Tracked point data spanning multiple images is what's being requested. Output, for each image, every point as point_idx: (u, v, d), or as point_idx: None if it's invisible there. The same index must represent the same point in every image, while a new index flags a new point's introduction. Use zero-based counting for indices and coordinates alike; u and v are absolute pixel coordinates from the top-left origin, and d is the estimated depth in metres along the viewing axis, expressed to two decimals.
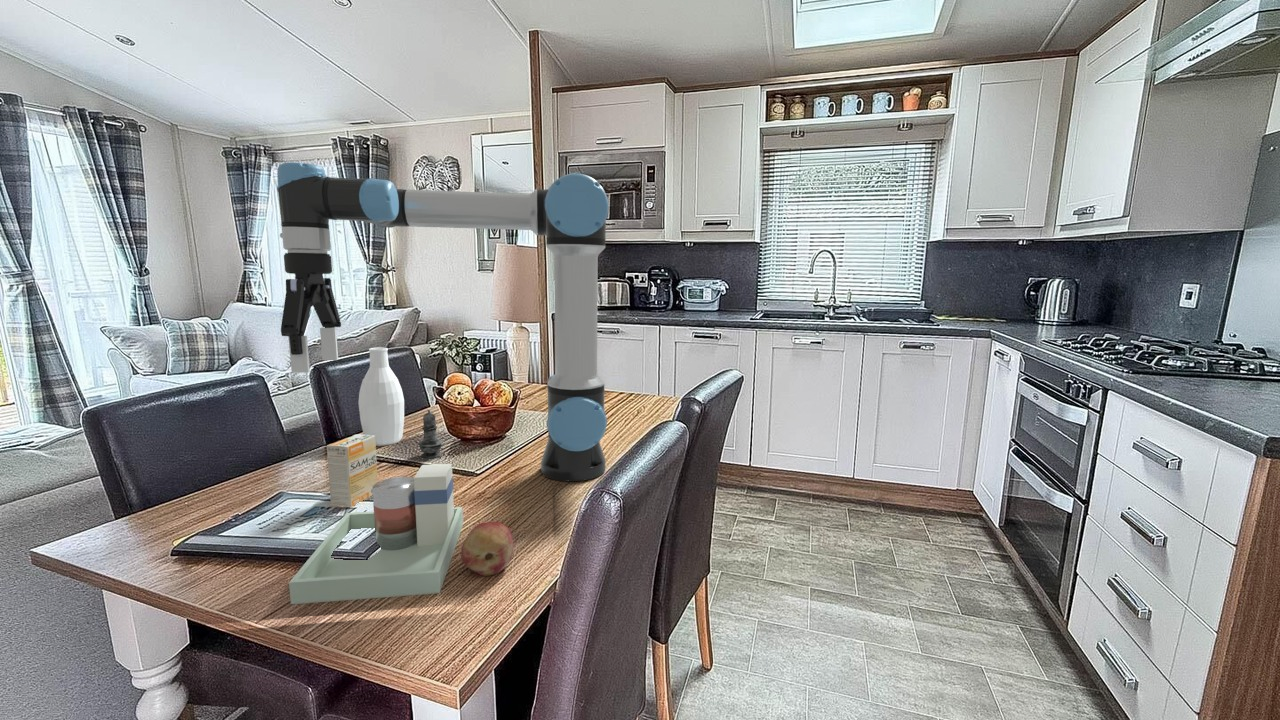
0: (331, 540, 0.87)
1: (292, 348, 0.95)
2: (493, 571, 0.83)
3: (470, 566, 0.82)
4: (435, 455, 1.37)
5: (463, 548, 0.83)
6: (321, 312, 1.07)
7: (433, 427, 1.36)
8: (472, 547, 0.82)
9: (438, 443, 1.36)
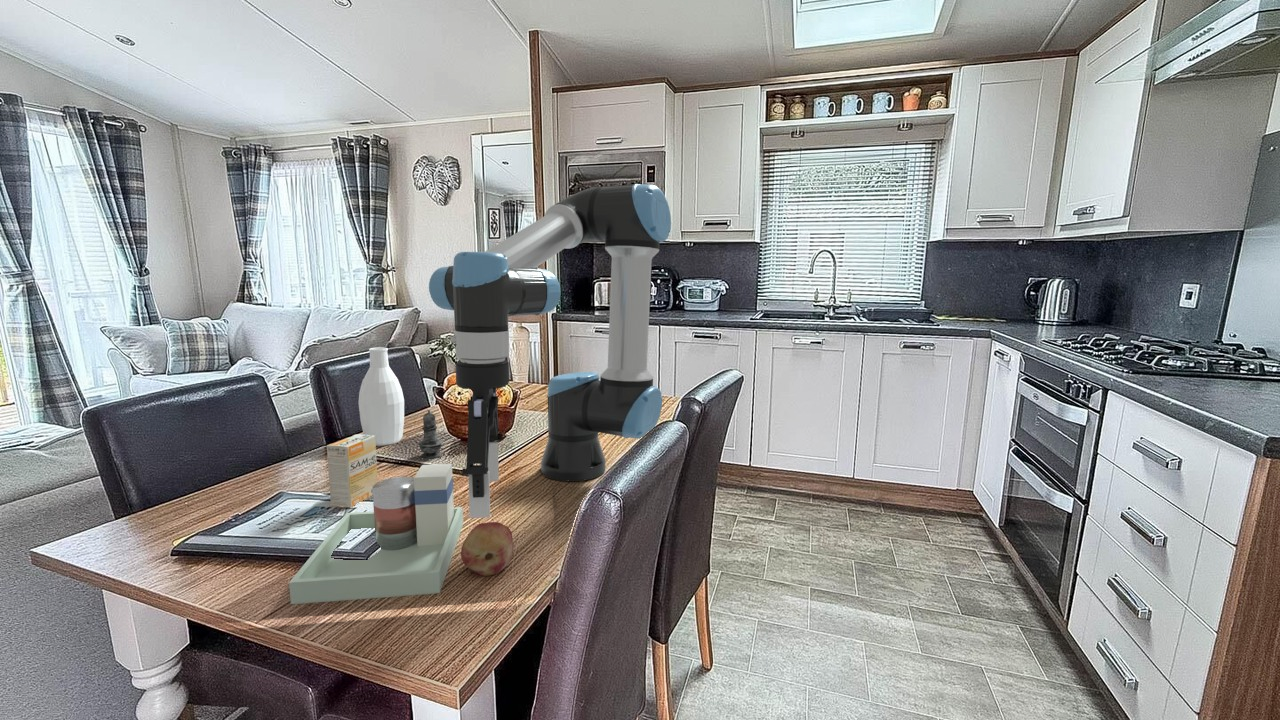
0: (331, 540, 0.87)
1: (475, 490, 0.74)
2: (493, 571, 0.83)
3: (470, 566, 0.82)
4: (435, 455, 1.37)
5: (463, 548, 0.83)
6: None
7: (433, 427, 1.36)
8: (472, 547, 0.82)
9: (438, 443, 1.36)
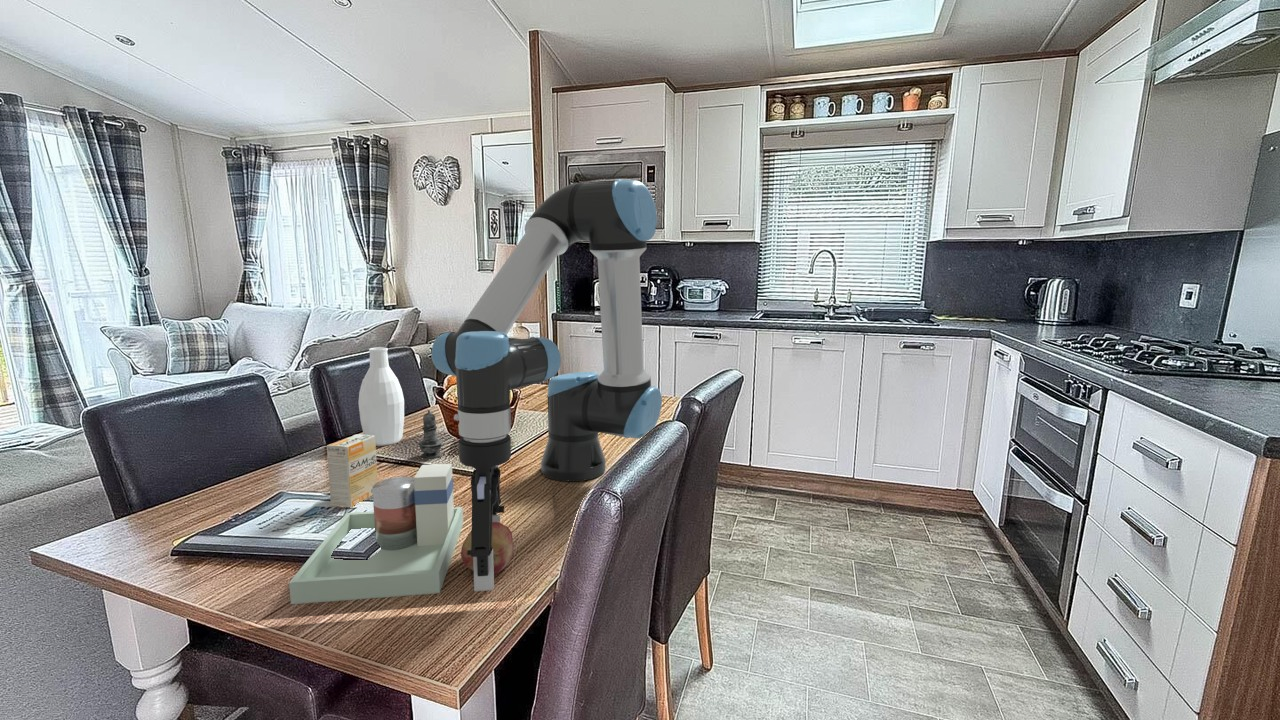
0: (331, 540, 0.87)
1: (479, 569, 0.78)
2: None
3: (470, 566, 0.82)
4: (435, 455, 1.37)
5: (463, 548, 0.83)
6: None
7: (433, 427, 1.36)
8: None
9: (438, 443, 1.36)
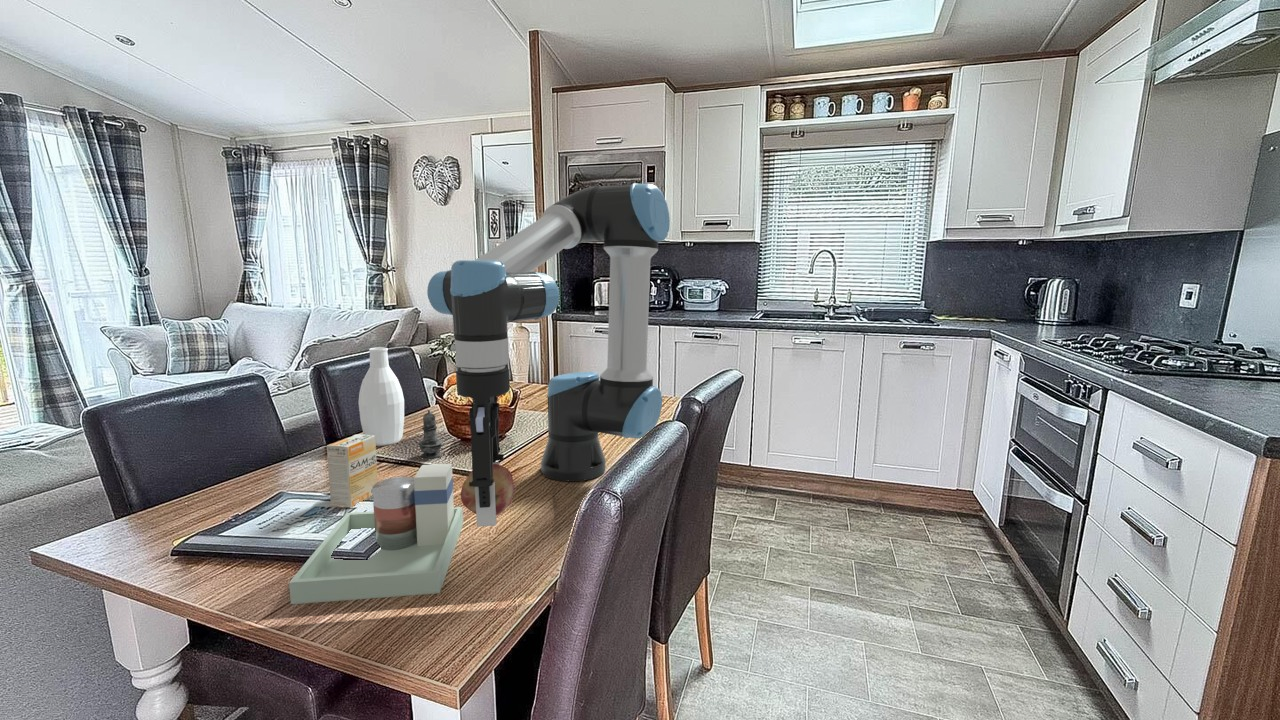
0: (331, 540, 0.87)
1: (481, 500, 0.78)
2: None
3: (470, 507, 0.81)
4: (435, 455, 1.37)
5: (463, 489, 0.81)
6: None
7: (433, 427, 1.36)
8: (471, 487, 0.80)
9: (438, 443, 1.36)
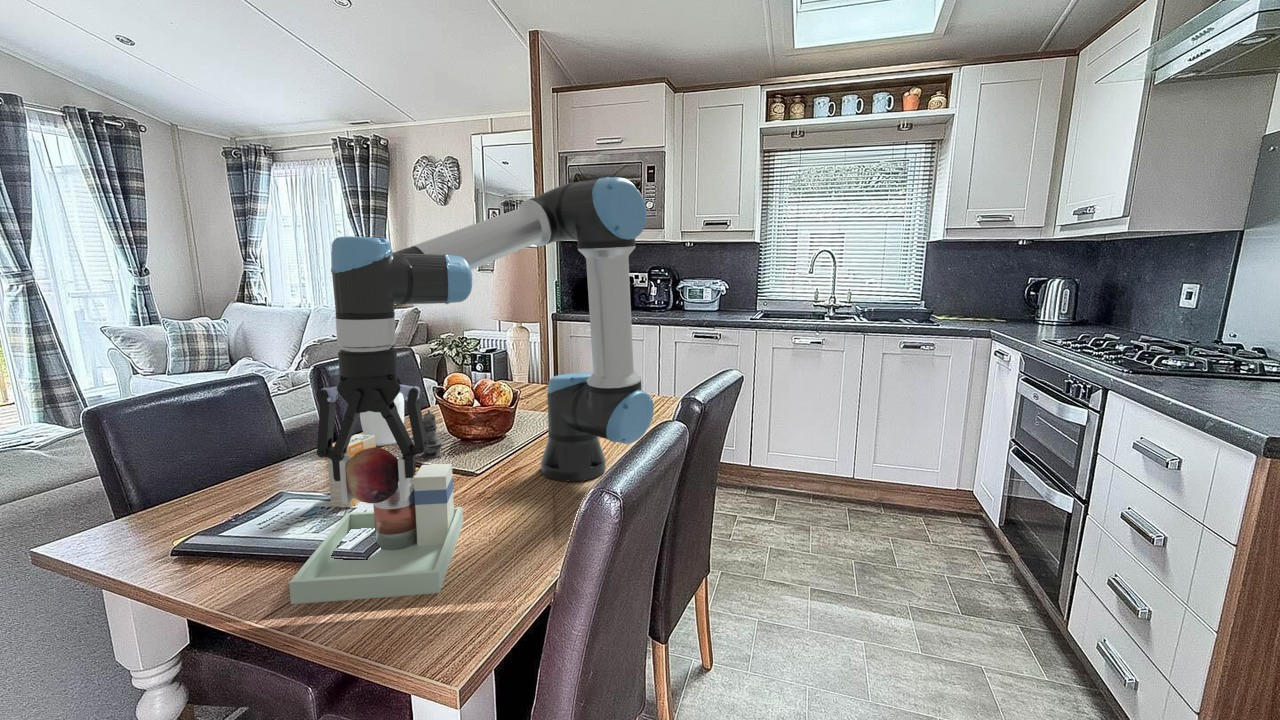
0: (331, 540, 0.87)
1: None
2: None
3: None
4: (435, 455, 1.37)
5: None
6: None
7: (433, 427, 1.36)
8: None
9: (438, 443, 1.36)
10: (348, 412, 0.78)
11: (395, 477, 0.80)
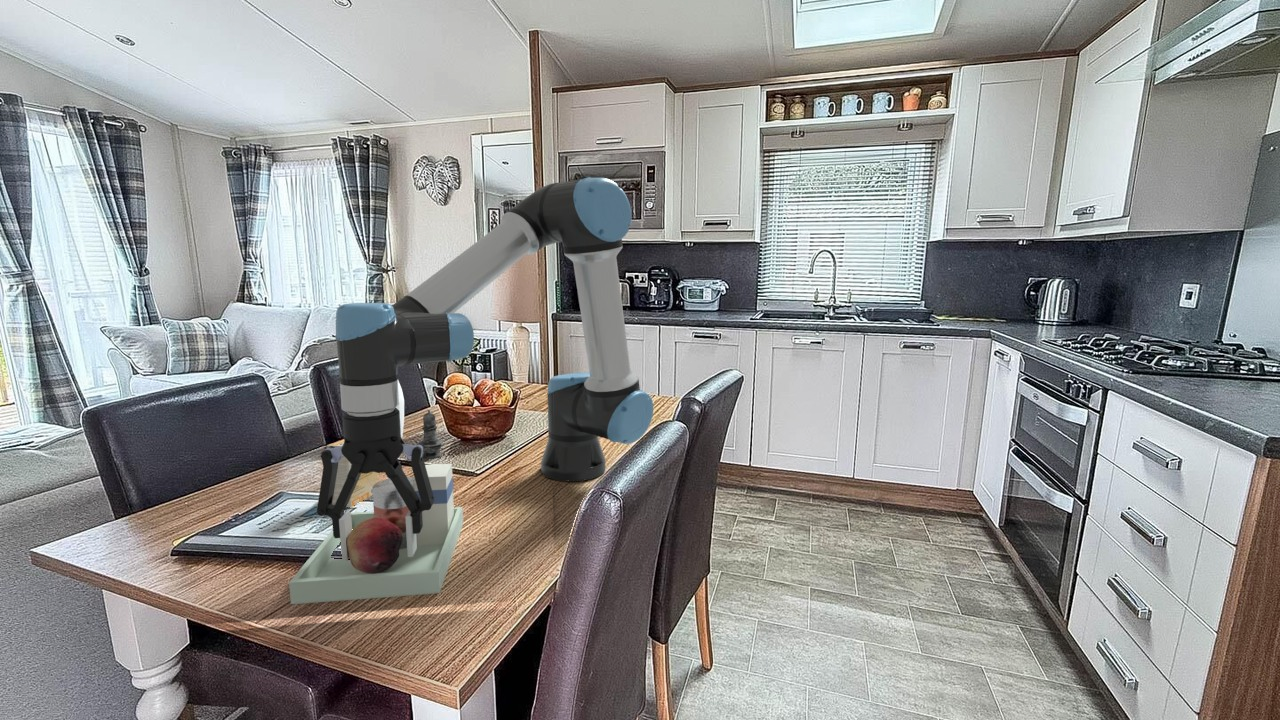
0: (331, 540, 0.87)
1: None
2: None
3: None
4: (435, 455, 1.37)
5: None
6: None
7: (433, 427, 1.36)
8: None
9: (438, 443, 1.36)
10: (351, 473, 0.79)
11: (395, 546, 0.82)
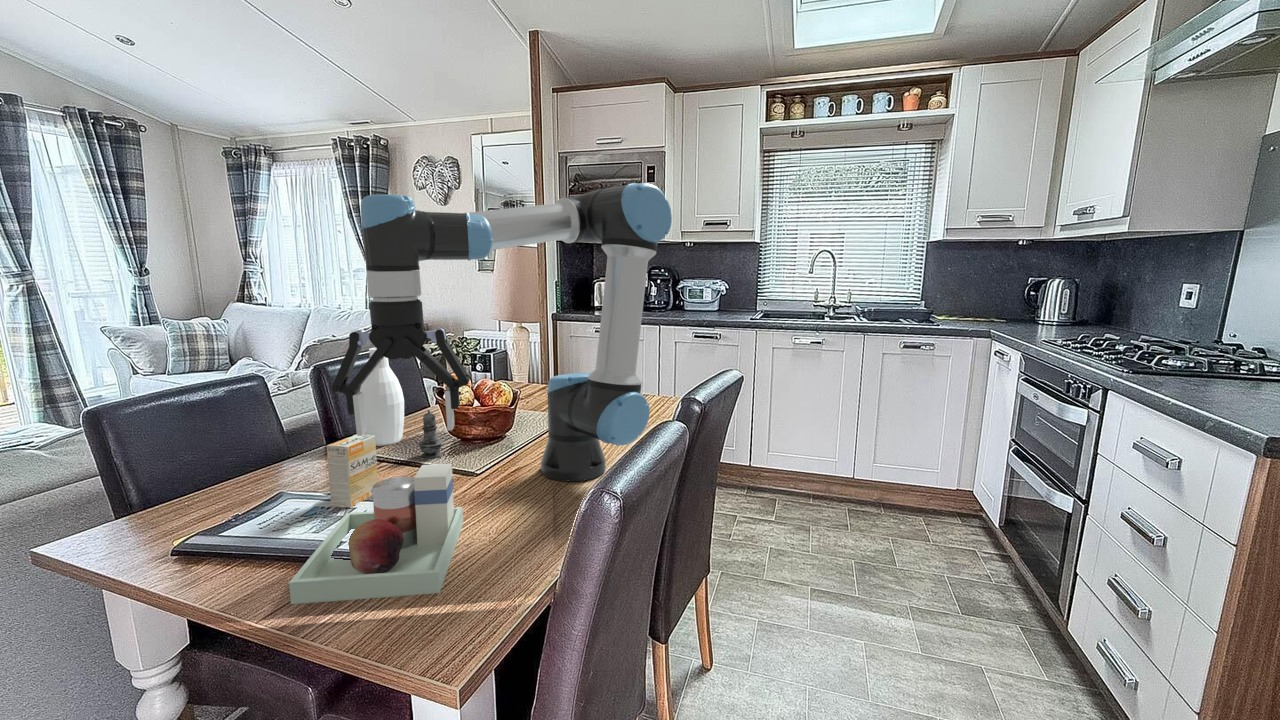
0: (331, 540, 0.87)
1: None
2: None
3: None
4: (435, 455, 1.37)
5: None
6: None
7: (433, 427, 1.36)
8: None
9: (438, 443, 1.36)
10: (374, 355, 0.84)
11: (396, 549, 0.82)
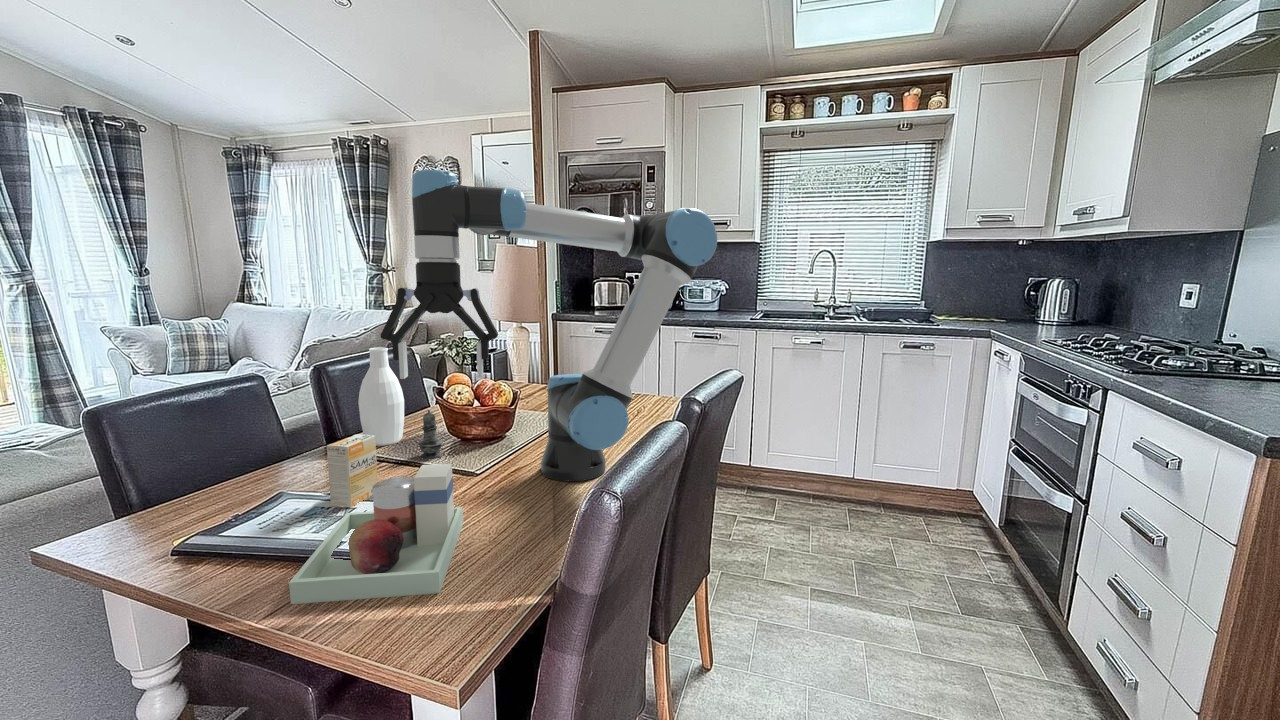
0: (331, 540, 0.87)
1: None
2: None
3: None
4: (435, 455, 1.37)
5: None
6: None
7: (433, 427, 1.36)
8: None
9: (438, 443, 1.36)
10: (418, 308, 0.98)
11: (396, 549, 0.82)
